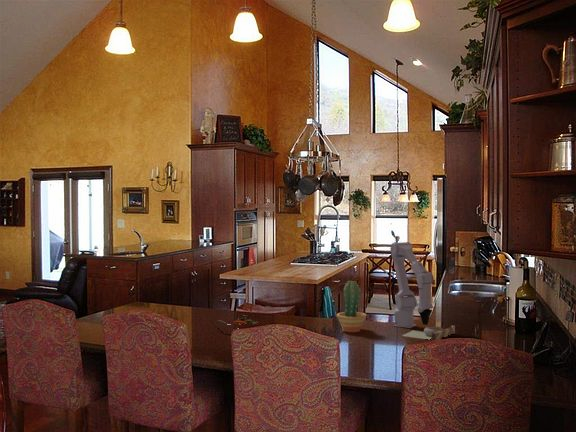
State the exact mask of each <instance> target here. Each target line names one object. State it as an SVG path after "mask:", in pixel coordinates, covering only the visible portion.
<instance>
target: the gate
mask: <svg viewBox="0 0 576 432" xmlns="http://www.w3.org/2000/svg"><path fill="white" fill-rule="evenodd" d="M443 329H444V330H441V331H438V332H435V333H432V339H431V341H432V340H435V339H438V340H441V339H443V338H442V337H444V338H447V337H449V336H452V335H451V334H453V327H451V326H450V327H448V328H443ZM448 335H449V336H448Z"/></svg>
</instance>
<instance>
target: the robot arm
mask: <svg viewBox="0 0 576 432" xmlns="http://www.w3.org/2000/svg"><path fill="white" fill-rule="evenodd" d="M389 249H390V255H391V259H392V261H393V264H394V269H395V270H394V271H395V276H396V279H397V286H398V292H397V293H396V294H395V306H396V308H395V309H394V314H393V315H394V317H393V318H394V321H393V322H394V323H393V327H398V328H399V327H400V328H408V329H411V328H414V327H417V324H415V323H414V322H415V321H414V310H415V308H417V313H418V314H419V317H420V320H421V323H422V325H425V326H426V325H428V324H429V320H430V317H431V314H432V313H433V310H432V309H434V306H433V303H432V284H433V283H434V275H433V273H432V272H430V271H428V270H427V269H426V268H425V266H424V265H423V263H422V262H421V261H418V260H417V257H416V255H415V254H414V252H413V245H412V243H411V242H409V241H406V242H392V243H391V246H390V248H389ZM405 259H406V260H407V261H408V262H409V263H410V264H411V267H410V269H411V270H412V271H413V273H414V275H415V276H416V282H417V287H418V301H417V298H416V297H415V292H413V291H412V290H411V289H410V287H409V281H408V276H407V270H406V265H405ZM417 305H418V307H417Z"/></svg>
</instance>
